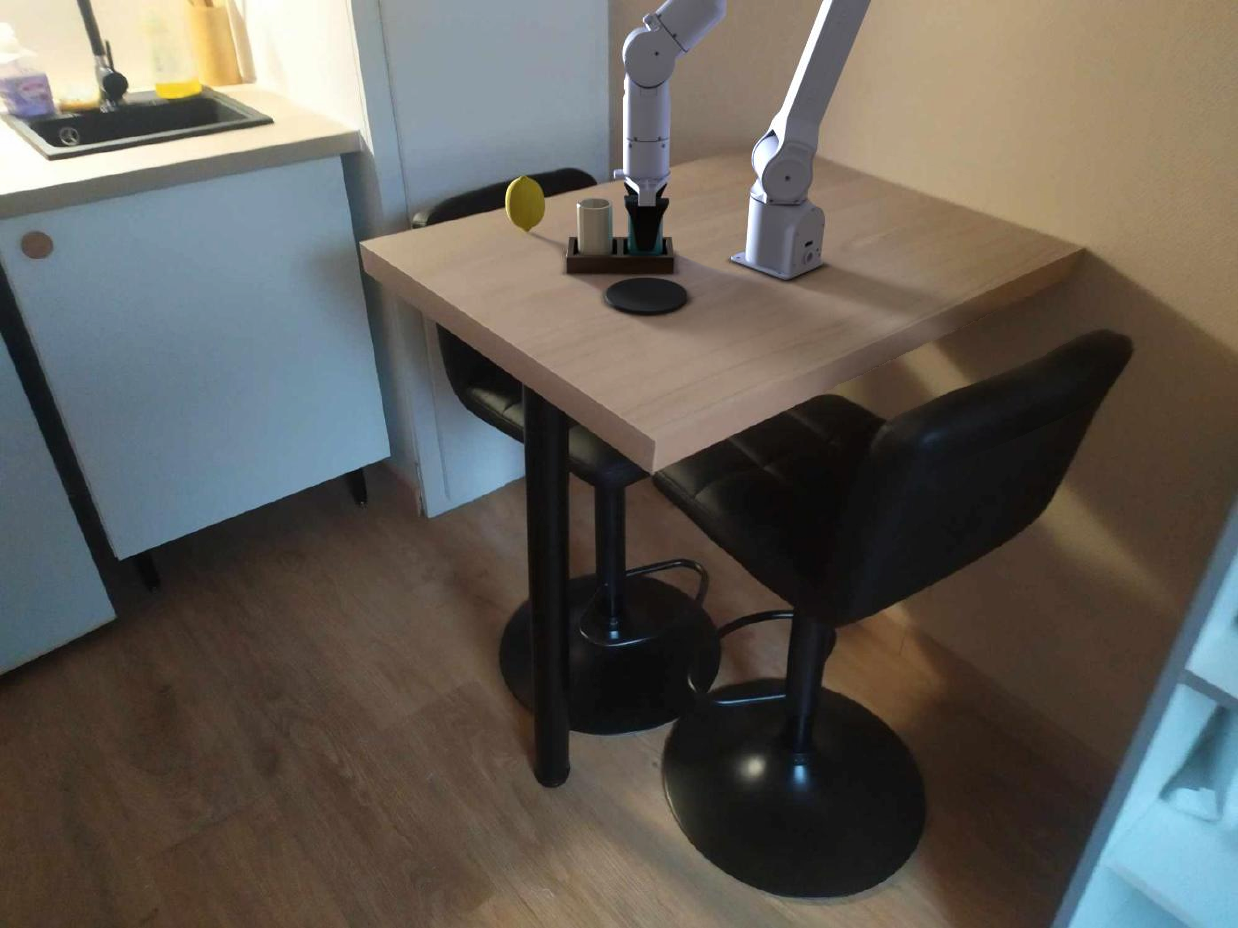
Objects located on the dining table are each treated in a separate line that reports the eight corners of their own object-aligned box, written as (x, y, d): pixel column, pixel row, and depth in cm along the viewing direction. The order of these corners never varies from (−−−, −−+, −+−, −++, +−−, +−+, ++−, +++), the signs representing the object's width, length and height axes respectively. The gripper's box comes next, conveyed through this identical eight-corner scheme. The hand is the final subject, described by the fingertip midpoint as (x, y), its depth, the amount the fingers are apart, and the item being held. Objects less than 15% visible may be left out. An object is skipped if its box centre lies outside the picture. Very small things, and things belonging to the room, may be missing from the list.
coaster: (704, 298, 113) (704, 294, 113) (645, 322, 107) (645, 318, 107) (647, 274, 119) (647, 270, 119) (588, 296, 113) (588, 292, 113)
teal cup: (668, 263, 122) (670, 203, 118) (644, 272, 120) (645, 211, 115) (645, 253, 125) (646, 195, 120) (620, 262, 122) (620, 203, 118)
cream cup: (619, 263, 122) (619, 203, 118) (594, 272, 120) (593, 211, 115) (597, 253, 125) (596, 195, 120) (571, 262, 122) (569, 203, 118)
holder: (673, 273, 119) (674, 257, 118) (566, 273, 119) (566, 257, 118) (671, 252, 125) (671, 236, 124) (569, 252, 125) (569, 236, 124)
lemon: (540, 240, 129) (537, 183, 125) (502, 237, 130) (498, 180, 126) (550, 226, 134) (548, 170, 129) (513, 223, 135) (510, 168, 130)
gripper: (614, 120, 119) (615, 222, 127) (613, 153, 107) (613, 263, 115) (669, 120, 119) (666, 222, 127) (674, 153, 107) (670, 263, 115)
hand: (645, 242), depth 121 cm, fingers open, 5 cm apart
